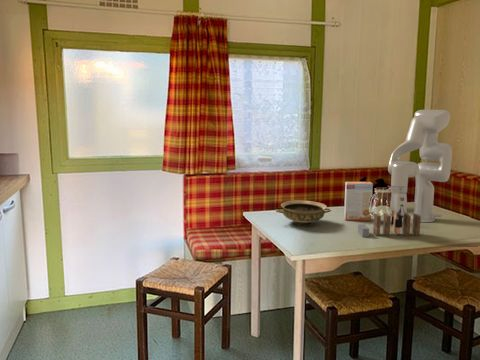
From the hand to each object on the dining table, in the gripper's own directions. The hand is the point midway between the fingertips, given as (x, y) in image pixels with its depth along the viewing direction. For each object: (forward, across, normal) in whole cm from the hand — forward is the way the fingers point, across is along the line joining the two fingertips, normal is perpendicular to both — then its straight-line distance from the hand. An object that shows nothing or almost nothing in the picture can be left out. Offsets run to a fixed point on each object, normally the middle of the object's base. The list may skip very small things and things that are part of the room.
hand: (396, 225), depth 216 cm
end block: (+5, 0, +16) cm, 17 cm away
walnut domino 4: (+5, 0, -10) cm, 11 cm away
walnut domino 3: (+5, 0, -5) cm, 7 cm away
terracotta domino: (+3, 0, 0) cm, 3 cm away
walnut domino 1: (+5, 0, +10) cm, 11 cm away
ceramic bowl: (+5, +20, +42) cm, 47 cm away
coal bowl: (+5, +53, -5) cm, 53 cm away
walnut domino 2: (+5, 0, +5) cm, 7 cm away
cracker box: (+5, +28, +11) cm, 31 cm away
